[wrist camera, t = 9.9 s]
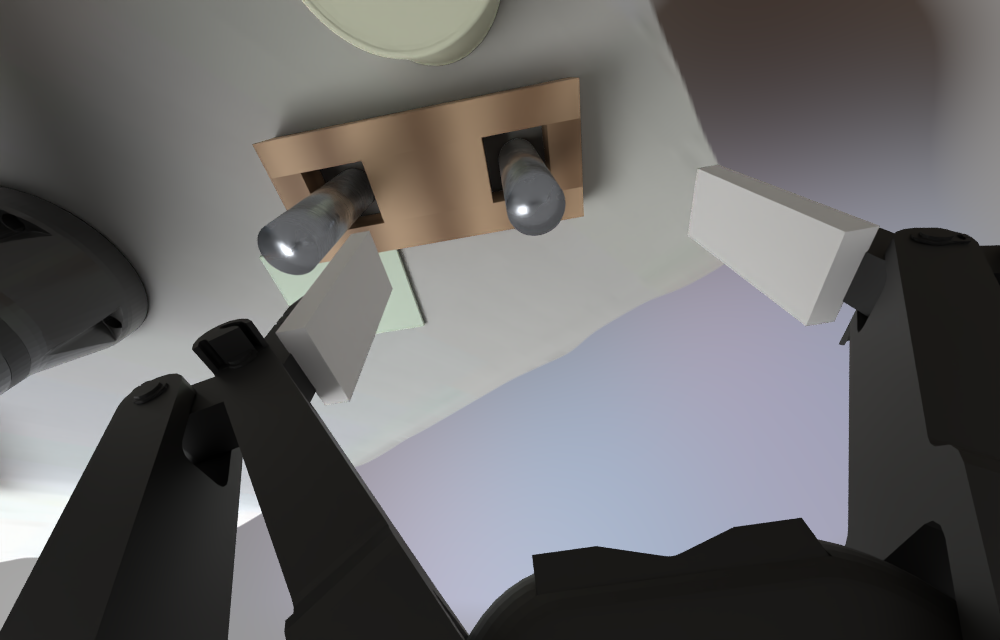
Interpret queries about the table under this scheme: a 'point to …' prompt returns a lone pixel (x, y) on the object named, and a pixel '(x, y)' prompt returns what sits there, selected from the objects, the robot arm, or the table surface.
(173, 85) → the table surface
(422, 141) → the socket block
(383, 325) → the mat
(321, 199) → the pin
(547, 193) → the pin
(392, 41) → the can
